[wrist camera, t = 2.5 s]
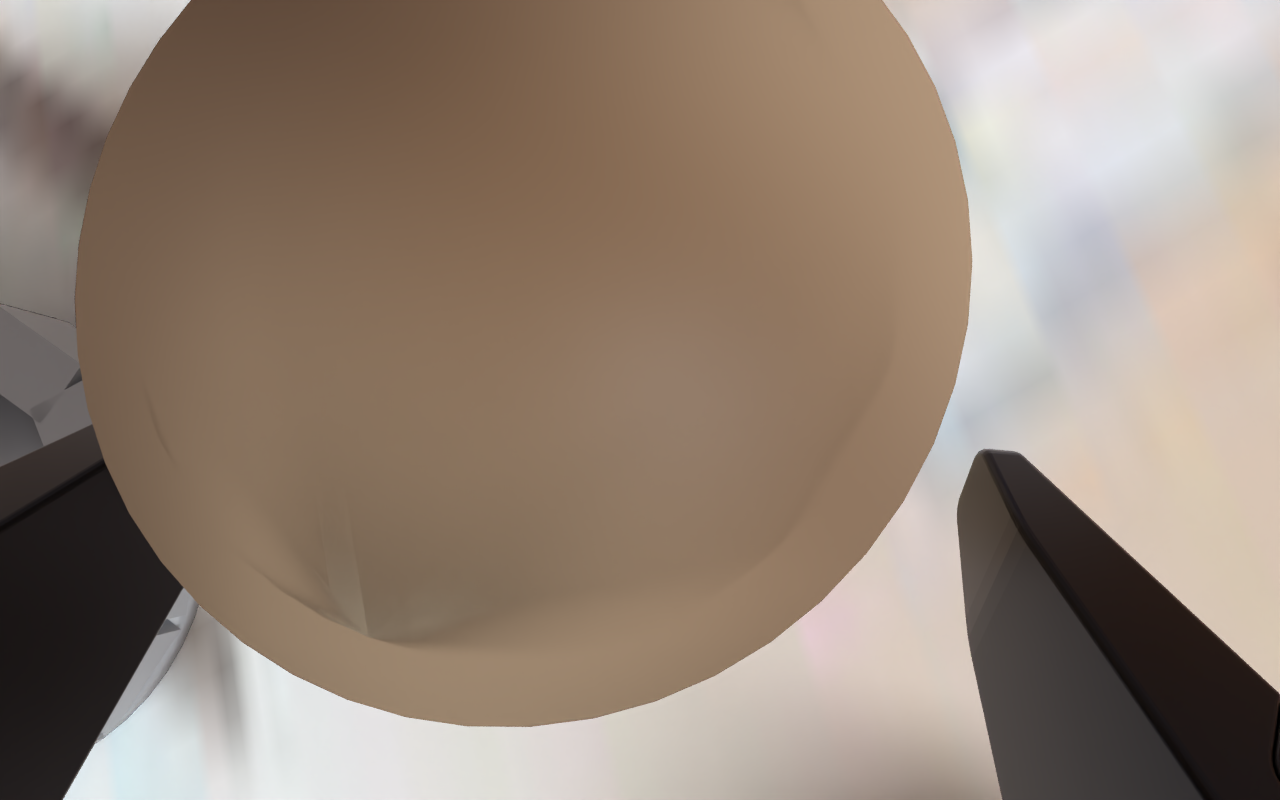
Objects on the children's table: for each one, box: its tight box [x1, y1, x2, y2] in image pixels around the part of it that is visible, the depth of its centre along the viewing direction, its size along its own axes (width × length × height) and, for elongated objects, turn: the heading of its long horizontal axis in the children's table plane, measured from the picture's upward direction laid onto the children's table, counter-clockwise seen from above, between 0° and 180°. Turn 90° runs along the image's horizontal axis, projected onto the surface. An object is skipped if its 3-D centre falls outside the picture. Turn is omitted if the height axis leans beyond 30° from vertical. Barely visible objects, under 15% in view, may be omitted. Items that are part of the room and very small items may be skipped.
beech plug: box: [75, 0, 972, 727], centre depth 12 cm, size 6×6×13 cm
